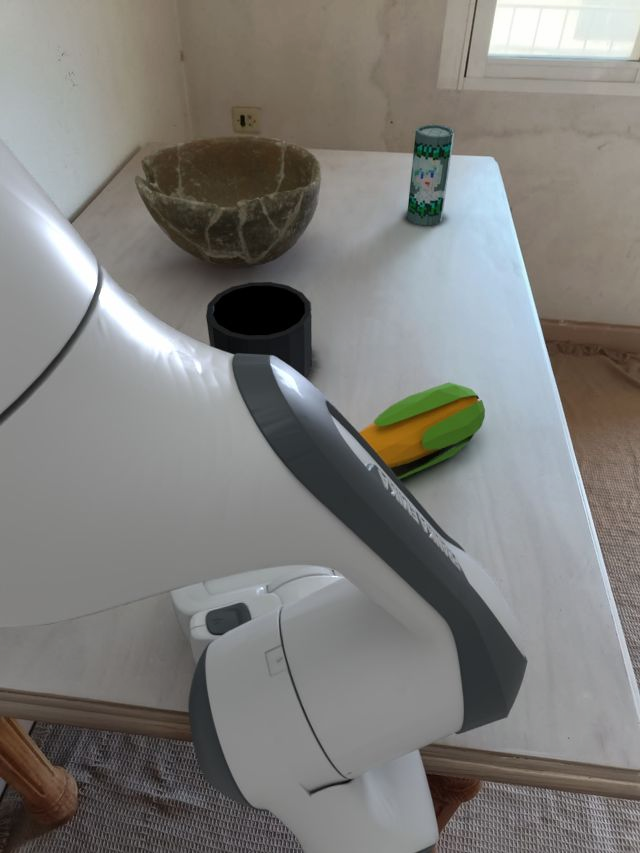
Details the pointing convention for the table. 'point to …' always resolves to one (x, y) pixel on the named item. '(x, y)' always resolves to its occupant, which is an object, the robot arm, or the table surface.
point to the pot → (263, 323)
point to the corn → (426, 426)
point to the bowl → (232, 196)
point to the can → (429, 174)
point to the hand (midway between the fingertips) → (271, 492)
